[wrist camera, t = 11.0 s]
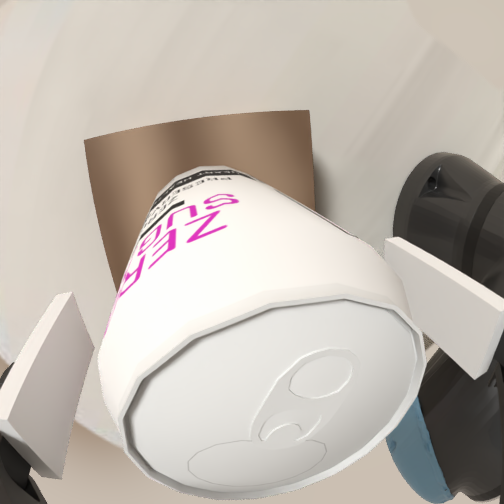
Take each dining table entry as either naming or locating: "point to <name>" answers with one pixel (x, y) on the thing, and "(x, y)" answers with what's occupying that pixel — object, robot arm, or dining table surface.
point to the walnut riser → (191, 166)
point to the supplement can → (253, 342)
